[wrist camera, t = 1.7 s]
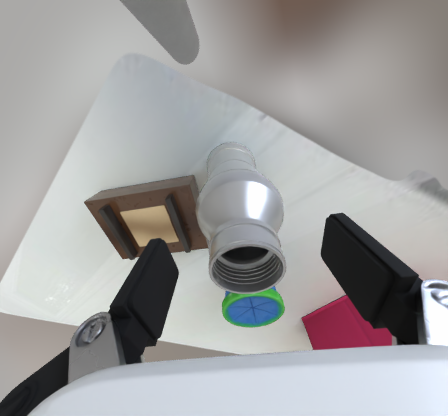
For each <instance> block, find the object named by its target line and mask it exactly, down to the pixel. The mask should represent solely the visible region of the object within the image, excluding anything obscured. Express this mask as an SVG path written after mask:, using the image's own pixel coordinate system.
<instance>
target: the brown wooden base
mask: <svg viewBox="0 0 448 416" xmlns="http://www.w3.org/2000/svg"><path fill="white" fill-rule="evenodd" d="M198 197H199V191H198V188H197V184H196V180H195V177H194V175H192V176H186V177H180V178H174V179H168V180H162V181H156V182H150V183H145V184H139V185H133V186H127V187H121V188H115V189H109V190H104V191H100V192H99V193H97V194H96V195H94V196H92V197H91V198H89V199H88V200H86V201H85V202H84V203H85V205H86V206H87V208H88V209H89V210H90V212H91V213H92V215H93V216H94V218H95V219H96V221H97V222H98V224H99V225H100V227H101V228H102V230H103V231H104V232H105V234H106V235H107V237H108V238H109V240H110V241H111V243H112V244H113V246H114V247H115V249H116V250H117V252H118V253H119V254H120V256H121V257H122V259H128V258H129V259H130V260H133V259H135V258H136V257H140V255H141V254H142V252H143V250H144V249H145V247H146V245H147V244H148V242H149V240H150V239H155V238H161V239H162V240H165V242H166V244H167V246H168V248H169V250H170V253H174V252H181V251H185V252H186V253H188V252H190V251H191V250H196V249H204V248H208V247H209V240H208V239H207V238H206V237H205V235H204V234H203V233H202V231H201V229H200V227H199V224H198V221H197V217H196V203H197V199H198Z"/></svg>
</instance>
